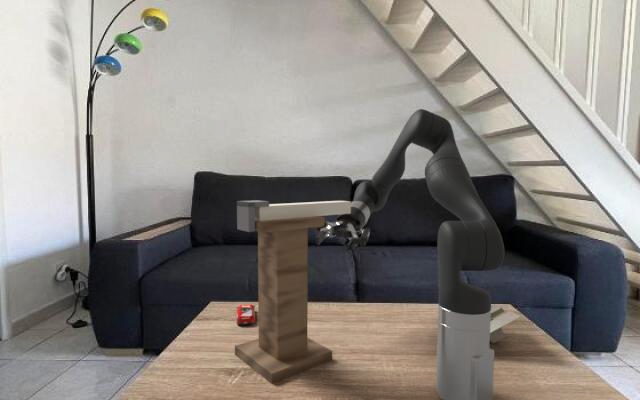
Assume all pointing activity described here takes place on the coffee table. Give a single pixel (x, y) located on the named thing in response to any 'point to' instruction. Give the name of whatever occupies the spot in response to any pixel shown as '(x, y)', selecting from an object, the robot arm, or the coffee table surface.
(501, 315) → the grey slanted stand
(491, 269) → the robot arm
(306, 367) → the wooden pedestal post
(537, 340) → the coffee table surface
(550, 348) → the coffee table surface
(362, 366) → the coffee table surface
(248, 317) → the race car
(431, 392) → the coffee table surface
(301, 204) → the white bar
